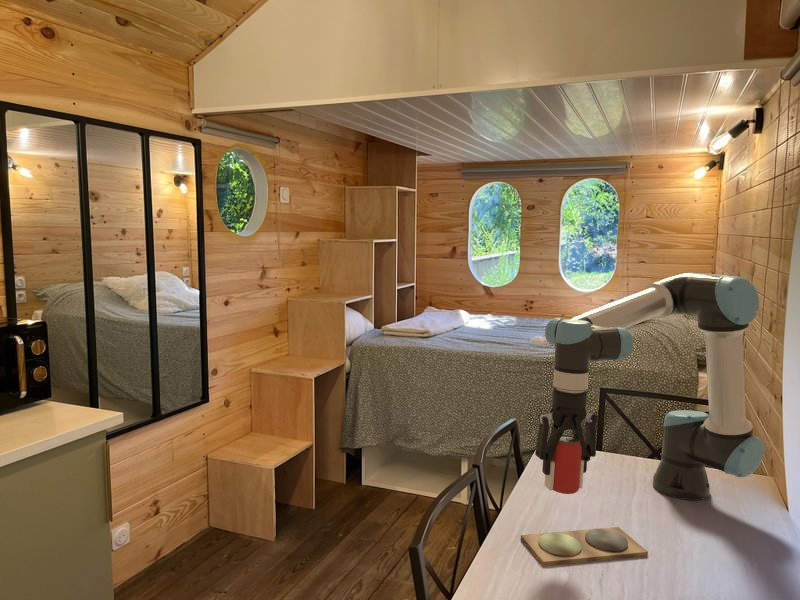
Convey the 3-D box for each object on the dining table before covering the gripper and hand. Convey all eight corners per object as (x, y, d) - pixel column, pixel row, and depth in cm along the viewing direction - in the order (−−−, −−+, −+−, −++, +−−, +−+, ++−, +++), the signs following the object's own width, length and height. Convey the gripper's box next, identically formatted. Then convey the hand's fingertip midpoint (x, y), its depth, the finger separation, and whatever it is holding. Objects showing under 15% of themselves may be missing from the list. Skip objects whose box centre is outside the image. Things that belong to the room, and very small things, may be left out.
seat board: (618, 530, 152) (618, 524, 152) (647, 555, 140) (648, 549, 140) (520, 539, 146) (521, 532, 146) (543, 566, 135) (543, 559, 134)
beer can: (580, 496, 136) (583, 444, 135) (549, 493, 137) (553, 441, 136) (577, 485, 143) (581, 435, 141) (548, 481, 144) (551, 432, 143)
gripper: (600, 383, 144) (593, 477, 146) (522, 385, 139) (517, 482, 142) (618, 392, 136) (610, 491, 139) (537, 394, 132) (530, 496, 134)
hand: (563, 486), depth 140 cm, fingers closed on beer can, 6 cm apart
